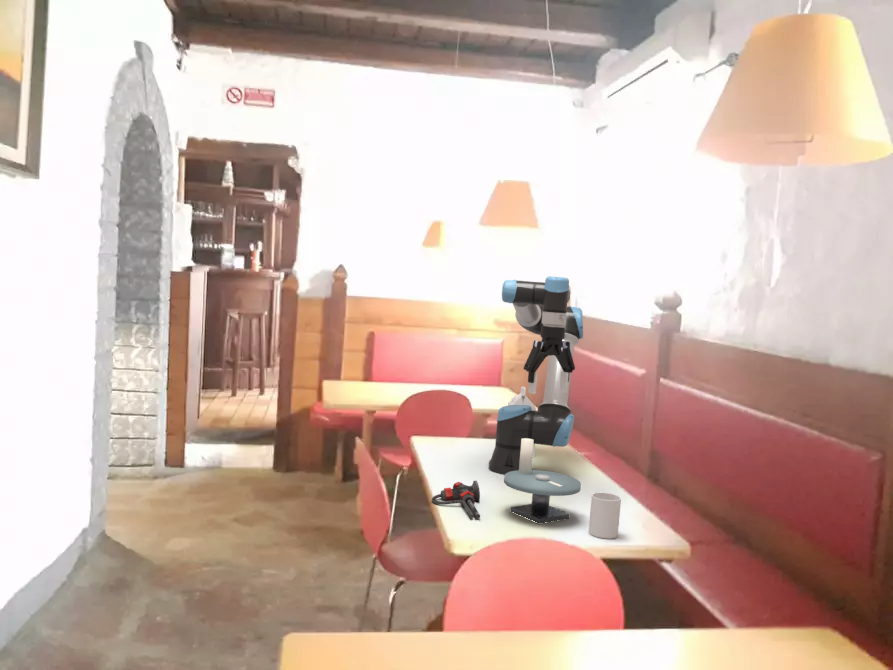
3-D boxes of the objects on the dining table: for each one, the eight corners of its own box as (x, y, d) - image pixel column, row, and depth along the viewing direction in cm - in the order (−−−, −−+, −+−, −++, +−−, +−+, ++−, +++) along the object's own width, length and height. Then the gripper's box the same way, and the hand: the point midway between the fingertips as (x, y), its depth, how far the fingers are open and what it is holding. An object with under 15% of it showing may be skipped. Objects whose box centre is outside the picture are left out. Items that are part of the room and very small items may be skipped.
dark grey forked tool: (427, 499, 240) (474, 493, 242) (442, 531, 214) (494, 524, 217) (426, 480, 239) (473, 474, 241) (440, 509, 213) (493, 502, 216)
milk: (534, 457, 301) (539, 390, 300) (504, 454, 302) (510, 388, 300) (531, 450, 313) (536, 386, 312) (502, 448, 313) (508, 384, 312)
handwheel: (596, 491, 221) (600, 451, 220) (537, 499, 208) (541, 456, 208) (545, 472, 239) (548, 435, 238) (488, 478, 227) (491, 439, 226)
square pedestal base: (510, 512, 225) (512, 482, 225) (540, 507, 233) (542, 478, 232) (538, 524, 216) (541, 493, 215) (568, 518, 223) (571, 488, 222)
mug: (622, 539, 208) (625, 501, 207) (593, 538, 207) (597, 500, 206) (606, 524, 220) (609, 488, 219) (579, 524, 219) (582, 487, 218)
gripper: (532, 325, 233) (526, 395, 235) (589, 327, 248) (583, 393, 250) (515, 323, 239) (510, 391, 241) (572, 325, 254) (567, 389, 256)
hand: (547, 392), depth 245 cm, fingers open, 13 cm apart
